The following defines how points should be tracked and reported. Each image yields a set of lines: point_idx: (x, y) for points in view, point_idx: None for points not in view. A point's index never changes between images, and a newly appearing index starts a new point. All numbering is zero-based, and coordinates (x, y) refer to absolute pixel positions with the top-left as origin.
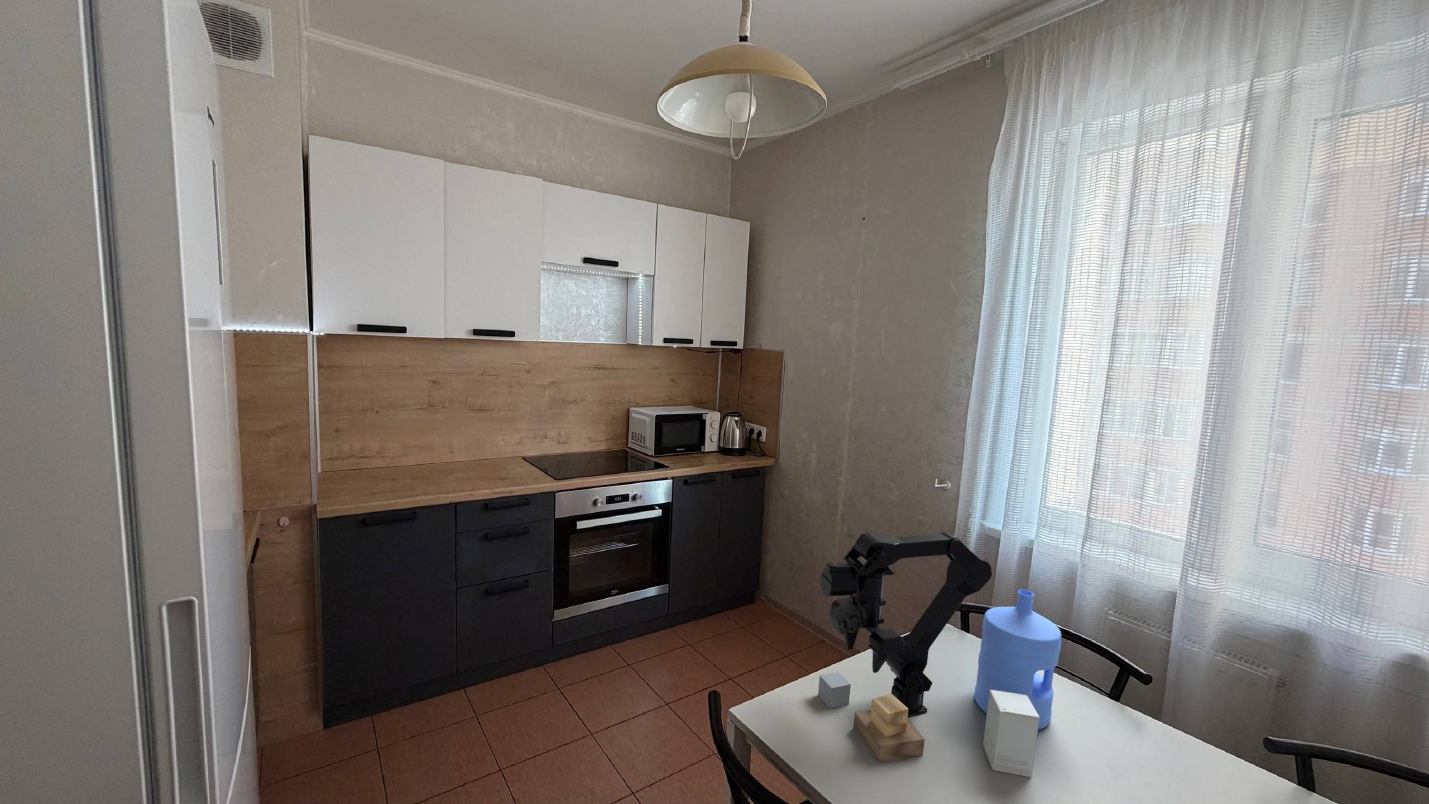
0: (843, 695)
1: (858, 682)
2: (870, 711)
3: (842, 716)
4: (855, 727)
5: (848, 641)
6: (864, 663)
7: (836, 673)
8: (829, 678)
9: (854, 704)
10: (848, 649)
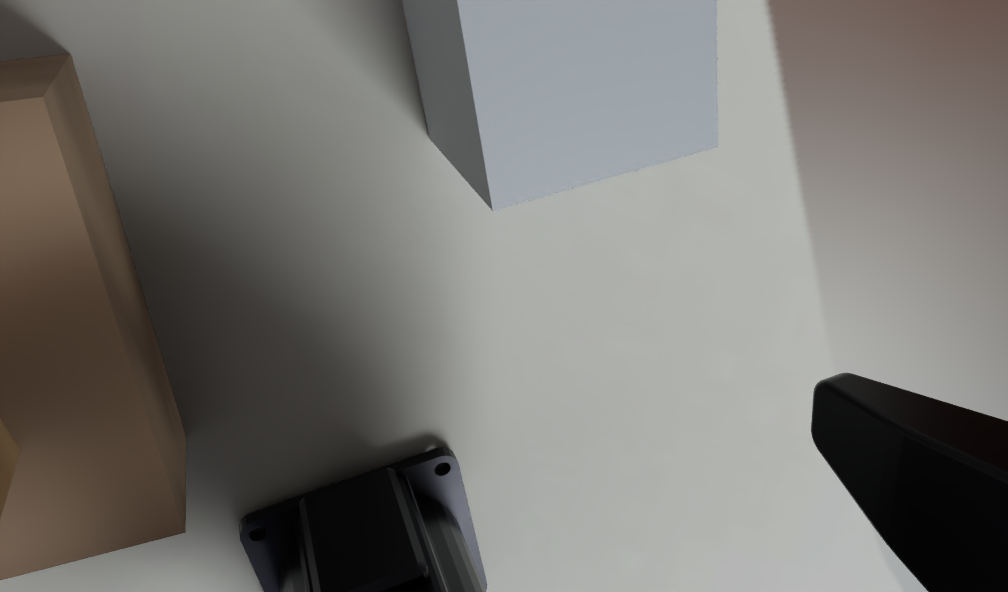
0: (442, 96)
1: (669, 306)
2: (78, 284)
3: (257, 6)
4: (22, 64)
5: (949, 467)
6: None
7: (694, 116)
8: None
9: (424, 189)
10: (822, 380)
